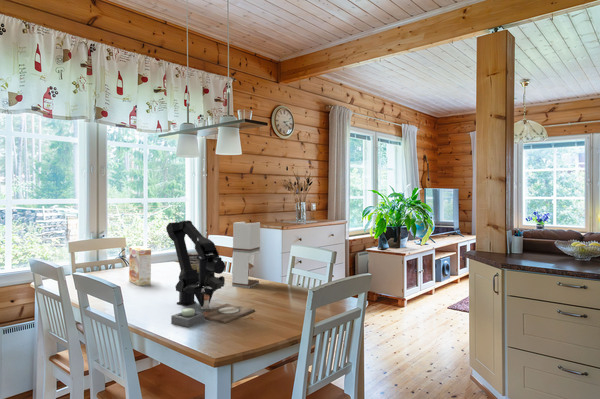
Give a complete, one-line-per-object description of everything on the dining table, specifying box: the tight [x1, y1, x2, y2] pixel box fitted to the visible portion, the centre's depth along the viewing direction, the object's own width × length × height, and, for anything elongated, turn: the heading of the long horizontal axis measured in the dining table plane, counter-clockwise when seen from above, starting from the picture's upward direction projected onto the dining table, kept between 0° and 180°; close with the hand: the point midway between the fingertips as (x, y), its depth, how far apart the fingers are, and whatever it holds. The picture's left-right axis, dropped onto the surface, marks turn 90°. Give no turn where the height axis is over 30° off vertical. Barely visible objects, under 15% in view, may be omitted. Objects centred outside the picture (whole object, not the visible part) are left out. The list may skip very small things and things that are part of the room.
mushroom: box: [200, 295, 210, 310], centre depth 178 cm, size 4×4×6 cm
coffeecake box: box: [128, 245, 152, 287], centre depth 227 cm, size 15×7×20 cm, turn 42°
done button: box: [181, 308, 196, 317], centre depth 161 cm, size 5×5×2 cm
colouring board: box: [200, 303, 256, 324], centre depth 173 cm, size 16×20×1 cm
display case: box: [231, 221, 261, 289], centre depth 226 cm, size 11×11×35 cm
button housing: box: [170, 311, 206, 328], centre depth 161 cm, size 9×9×3 cm
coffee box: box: [188, 252, 199, 276], centre depth 232 cm, size 9×6×16 cm
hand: (204, 305), depth 178 cm, fingers closed on mushroom, 3 cm apart
